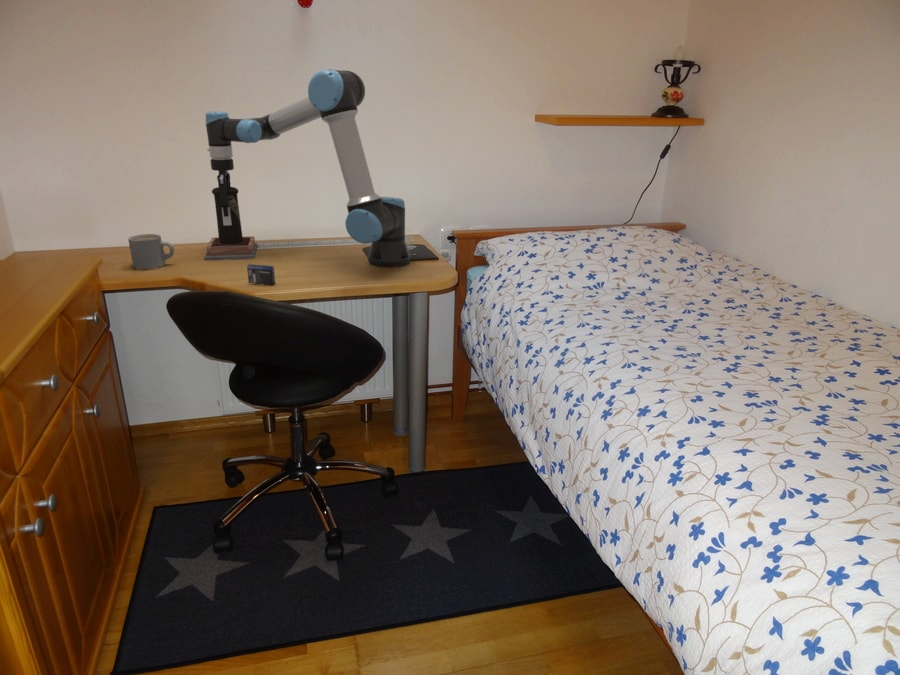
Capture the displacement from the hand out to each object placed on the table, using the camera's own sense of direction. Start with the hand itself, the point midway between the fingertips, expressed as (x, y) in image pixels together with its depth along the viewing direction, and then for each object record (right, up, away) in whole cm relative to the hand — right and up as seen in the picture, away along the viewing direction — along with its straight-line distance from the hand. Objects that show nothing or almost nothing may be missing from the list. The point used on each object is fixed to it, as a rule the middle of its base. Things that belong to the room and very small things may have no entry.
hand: (228, 222), depth 226 cm
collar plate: (0, -10, +4) cm, 11 cm away
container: (0, -7, +3) cm, 7 cm away
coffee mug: (-20, -18, -14) cm, 30 cm away
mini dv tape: (+21, -25, -30) cm, 44 cm away
